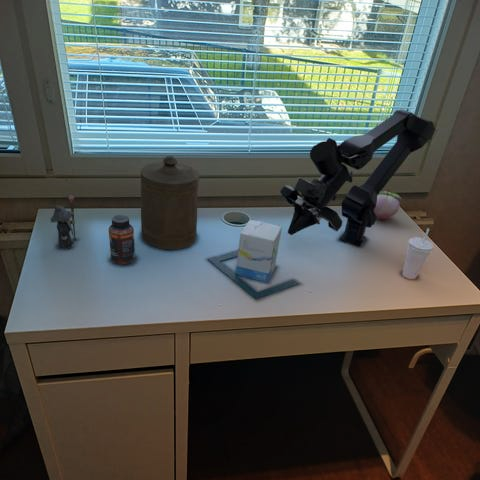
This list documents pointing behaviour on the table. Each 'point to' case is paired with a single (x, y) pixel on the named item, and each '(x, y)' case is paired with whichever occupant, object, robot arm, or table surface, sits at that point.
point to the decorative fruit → (386, 204)
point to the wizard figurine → (64, 224)
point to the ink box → (258, 250)
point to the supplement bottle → (121, 240)
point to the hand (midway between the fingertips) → (289, 233)
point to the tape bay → (244, 285)
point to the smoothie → (416, 255)
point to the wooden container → (169, 204)
